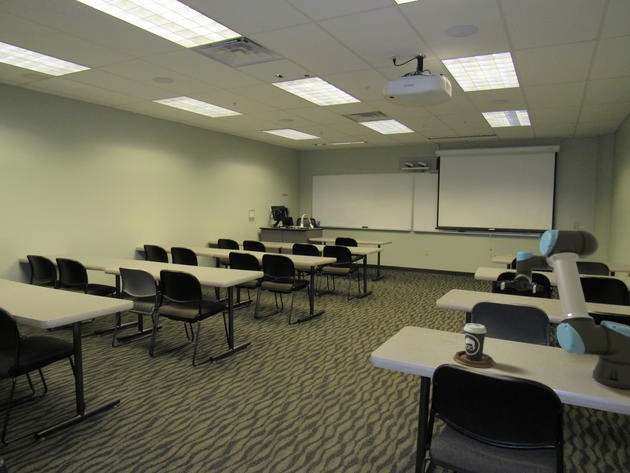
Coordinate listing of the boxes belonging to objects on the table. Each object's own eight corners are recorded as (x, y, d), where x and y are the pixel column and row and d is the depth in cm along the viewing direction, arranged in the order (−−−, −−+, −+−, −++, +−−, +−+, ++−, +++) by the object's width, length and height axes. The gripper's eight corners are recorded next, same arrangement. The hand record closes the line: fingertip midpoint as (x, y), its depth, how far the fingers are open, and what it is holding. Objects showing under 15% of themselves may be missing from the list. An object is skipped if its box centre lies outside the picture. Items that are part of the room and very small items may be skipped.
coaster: (501, 368, 171) (501, 363, 171) (462, 367, 171) (462, 363, 170) (484, 354, 188) (484, 350, 188) (447, 353, 187) (448, 349, 187)
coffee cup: (487, 363, 174) (488, 329, 173) (464, 361, 176) (465, 327, 175) (483, 356, 183) (484, 323, 182) (460, 354, 185) (462, 322, 184)
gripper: (549, 292, 202) (547, 299, 184) (495, 287, 215) (489, 293, 197) (550, 277, 201) (548, 283, 183) (496, 273, 215) (489, 277, 197)
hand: (517, 288), depth 190 cm, fingers open, 13 cm apart
